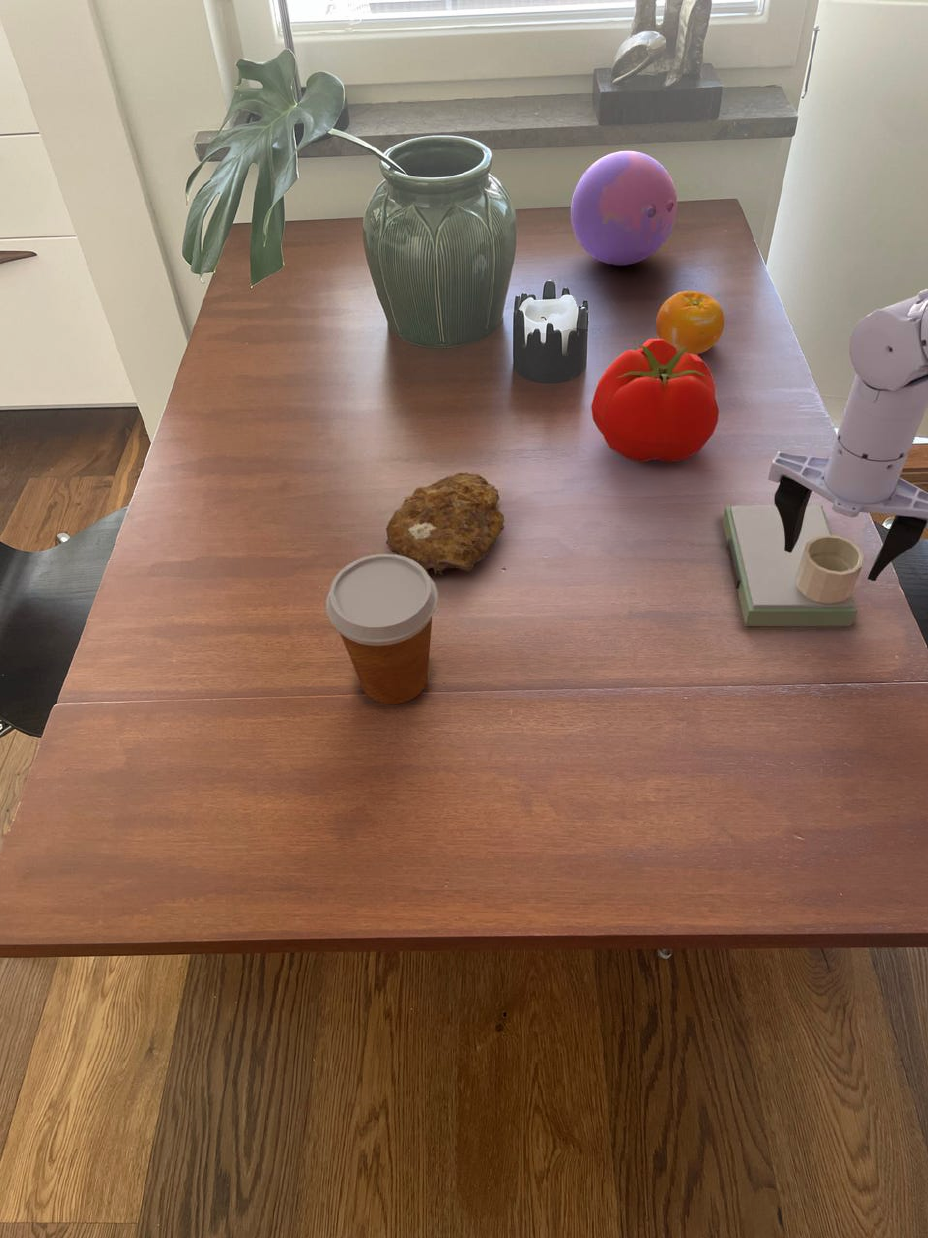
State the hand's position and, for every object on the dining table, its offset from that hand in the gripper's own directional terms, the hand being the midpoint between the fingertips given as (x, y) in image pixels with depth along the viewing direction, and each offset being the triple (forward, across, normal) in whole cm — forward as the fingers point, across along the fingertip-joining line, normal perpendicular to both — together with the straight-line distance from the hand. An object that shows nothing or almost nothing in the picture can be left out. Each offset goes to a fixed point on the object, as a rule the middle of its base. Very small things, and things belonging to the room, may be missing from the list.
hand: (831, 559), depth 85 cm
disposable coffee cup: (+6, -31, -28) cm, 42 cm away
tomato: (+6, -24, +16) cm, 30 cm away
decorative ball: (+6, -46, +55) cm, 72 cm away
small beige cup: (+4, 0, 0) cm, 4 cm away
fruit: (+6, -29, +37) cm, 48 cm away
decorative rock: (+6, -37, -8) cm, 38 cm away
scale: (+6, -4, +3) cm, 8 cm away
